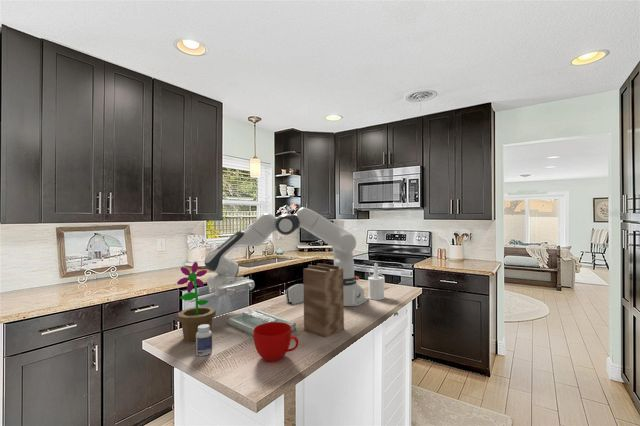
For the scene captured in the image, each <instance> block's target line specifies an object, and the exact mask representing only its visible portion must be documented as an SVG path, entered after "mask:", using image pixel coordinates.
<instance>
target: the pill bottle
mask: <svg viewBox="0 0 640 426" xmlns="http://www.w3.org/2000/svg"><path fill="white" fill-rule="evenodd" d="M212 332H213V331H212V330H211V331H210V325H208V324H203V325H200V326H198V332H197V333H196V342H195V353H196V355H197V356H198V355H199V356H198V357H204V356H205V355H206V356H209V355H210V354H212V352H213V333H212ZM208 354H209V355H208ZM206 356H205V357H206Z"/></svg>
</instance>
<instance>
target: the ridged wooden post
mask: <svg viewBox="0 0 640 426" xmlns="http://www.w3.org/2000/svg"><path fill="white" fill-rule="evenodd" d="M302 270H303V273H302V274H303V276H302V277H303V279H302V280H303V283H302V284H303V285H304V301H303V330H304V331H306V332H309V333H310V334H311V333H312V334H314V335H317V336H320V337H323V338H327V337H329V336H332V335H334V334H336V333H338V332H340V331H342V330H344V329H345V312H344V308H345V306H344V295H343V268H339V266H334V264H327V263H320V262H317V263H316V265H312V264H308V265H307V268H303V269H302Z"/></svg>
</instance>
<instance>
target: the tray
mask: <svg viewBox="0 0 640 426" xmlns="http://www.w3.org/2000/svg"><path fill="white" fill-rule="evenodd" d="M254 311H255V312H257V313H260V314H263V315H266V316H268V317H271V318H274V319H276V320H277V322H281V323H286V324H288V325H290V326H291V332H294V331H296V330H297V328H296V327H297V324H296V322H293V321H290V320H287V319H285V318H282V317H279V316H276V315H273V314H270V313H267V312H265V311H262V310H259V309H256V310H255V309H254ZM227 325H229V326H231V327H233V328H236V329H238V330H241V331H242V332H244V333H247V334H249V335H251V336H253V337H254V334H253V332H254V328H255V327H257V326H254V325H252V324H250V323H247V322H245V321H243V313H241V314H238V315H233V316H230V317H228V318H227Z"/></svg>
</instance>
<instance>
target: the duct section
mask: <svg viewBox="0 0 640 426" xmlns="http://www.w3.org/2000/svg"><path fill="white" fill-rule="evenodd" d="M242 314H243V321H245V322H247V323H250V324H252V325H254V326H259V325H261V324H264V323H270V322H277V320H276V319H274V318H271V317H268V316H266V315H263V314H260V313H257V312H255V310H252V309H248V310H244V311H242Z"/></svg>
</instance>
